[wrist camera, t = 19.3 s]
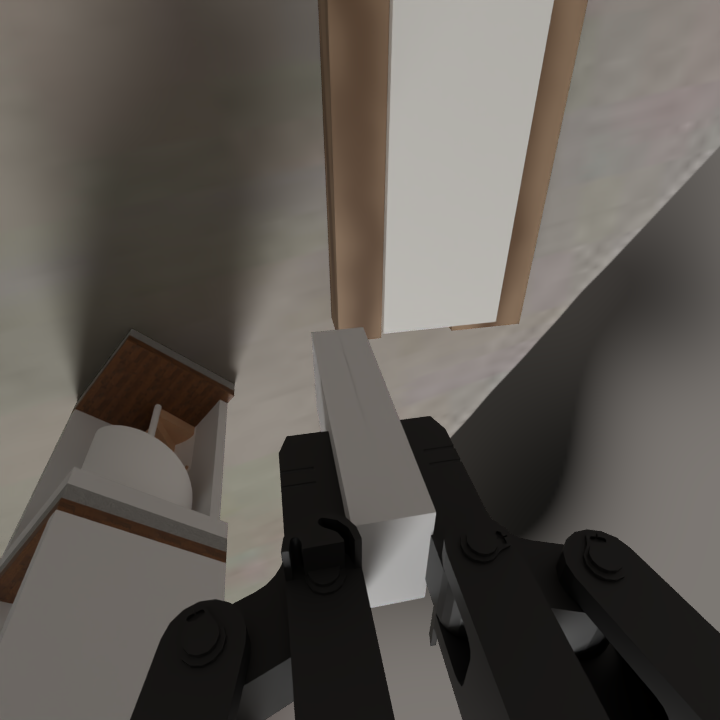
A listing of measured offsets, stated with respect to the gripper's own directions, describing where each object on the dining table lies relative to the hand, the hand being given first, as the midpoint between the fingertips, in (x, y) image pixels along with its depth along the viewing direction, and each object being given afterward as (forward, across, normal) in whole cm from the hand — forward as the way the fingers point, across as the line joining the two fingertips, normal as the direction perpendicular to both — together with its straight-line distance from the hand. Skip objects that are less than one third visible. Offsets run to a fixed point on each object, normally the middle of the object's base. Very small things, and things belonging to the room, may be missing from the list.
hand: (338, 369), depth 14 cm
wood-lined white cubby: (+31, -15, -22) cm, 41 cm away
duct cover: (+25, +13, -1) cm, 28 cm away
